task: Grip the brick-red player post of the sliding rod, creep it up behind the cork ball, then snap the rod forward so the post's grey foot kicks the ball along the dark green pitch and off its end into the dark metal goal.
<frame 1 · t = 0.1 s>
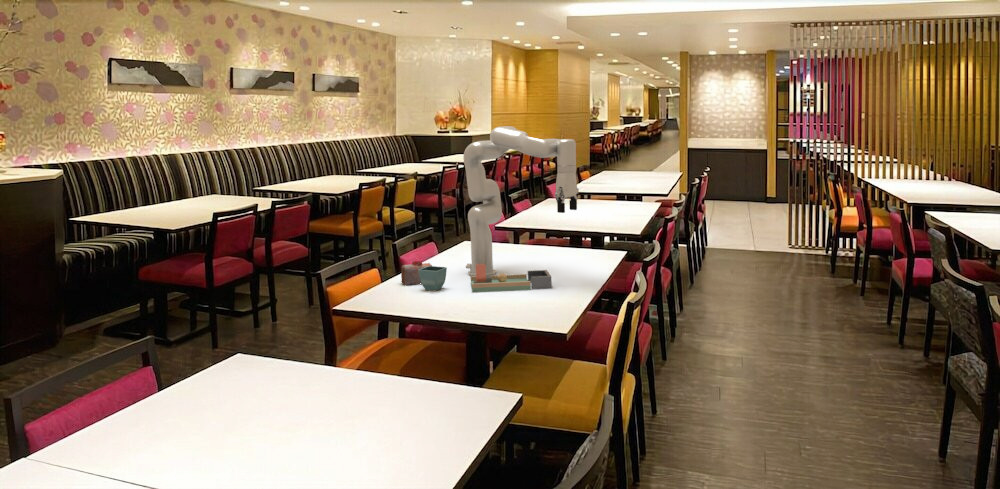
hand: (567, 211, 312), 31 cm above the table, fingers open, 9 cm apart
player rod: (482, 273, 316), point 6 cm above the table, slide at 0.0 cm
goal: (538, 285, 318), on the table
flower pot: (433, 289, 316), on the table
ball: (502, 278, 316), point 4 cm above the table, touching pitch
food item: (418, 283, 329), on the table
pitch: (500, 286, 317), on the table
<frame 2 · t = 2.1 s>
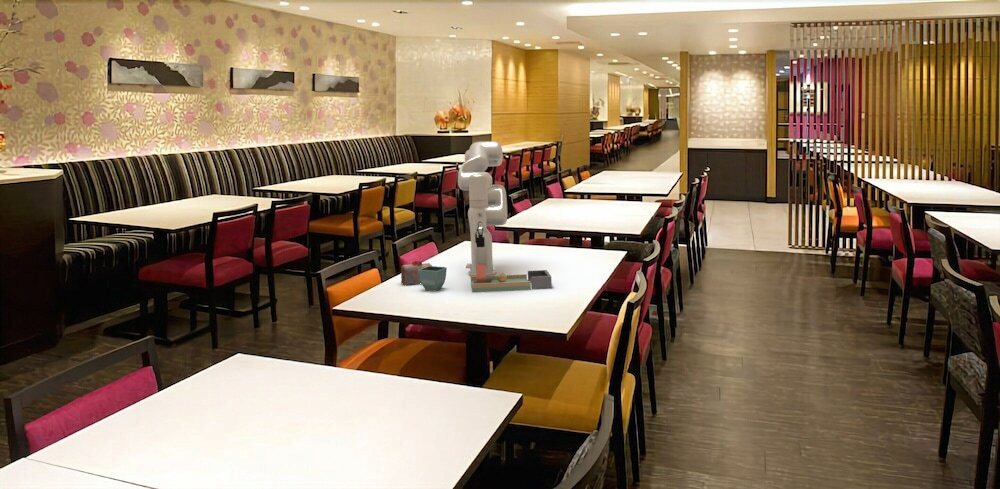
hand: (480, 245, 313), 18 cm above the table, fingers open, 9 cm apart
nothing on the table moved.
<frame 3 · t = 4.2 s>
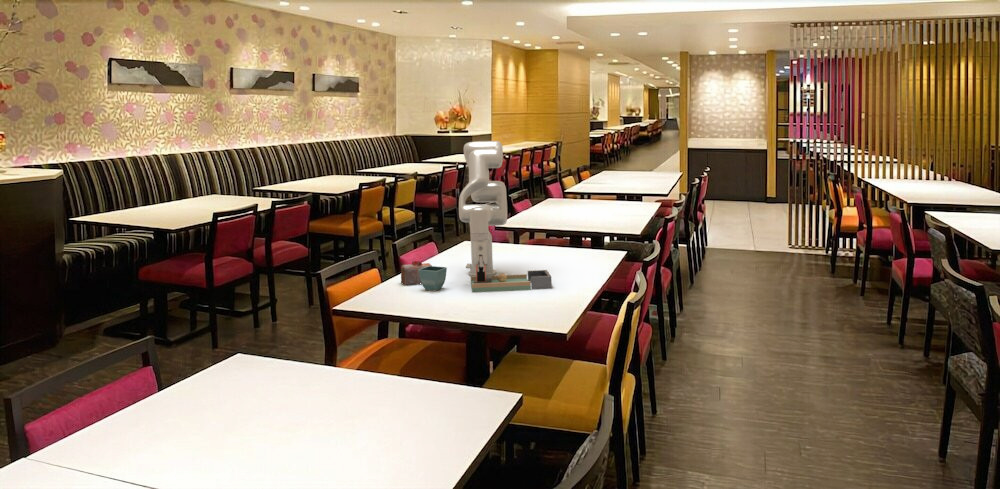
hand: (480, 279, 316), 4 cm above the table, fingers closed on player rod, 4 cm apart
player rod: (482, 273, 316), point 6 cm above the table, slide at 0.0 cm, touching gripper
everything else where it was.
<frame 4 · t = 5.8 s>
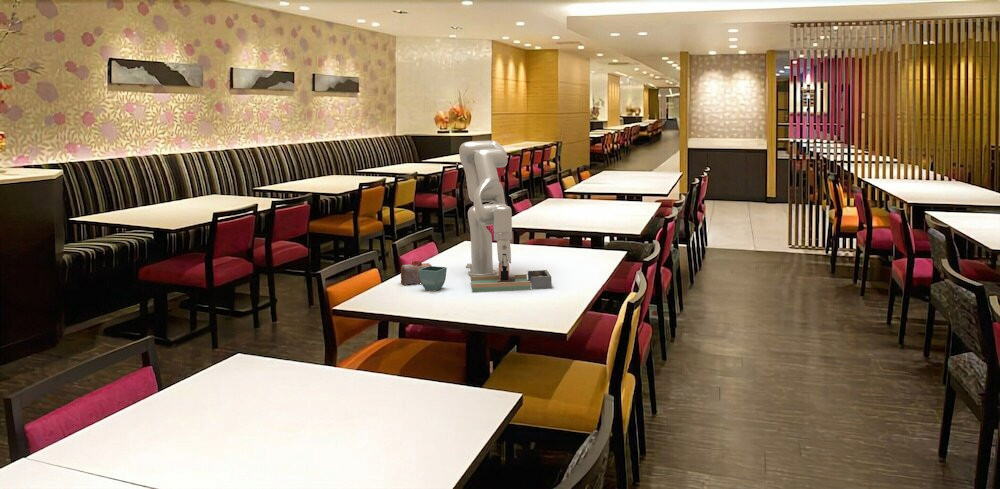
hand: (504, 278, 317), 4 cm above the table, fingers closed on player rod, 4 cm apart
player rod: (505, 272, 316), point 6 cm above the table, slide at 9.8 cm, touching gripper
ball: (540, 280, 318), point 2 cm above the table, tilted 81°
everything else where it was.
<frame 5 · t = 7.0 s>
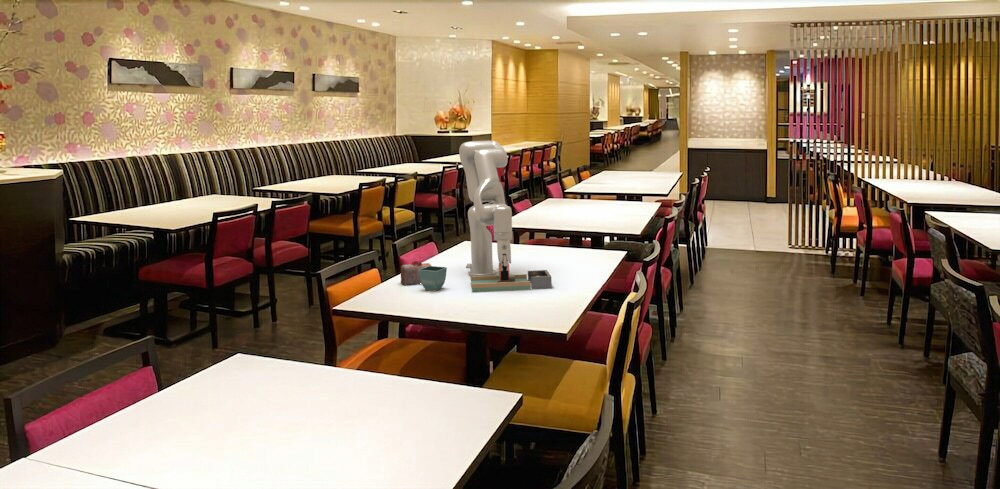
hand: (504, 278, 317), 4 cm above the table, fingers closed on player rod, 4 cm apart
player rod: (505, 272, 316), point 6 cm above the table, slide at 9.8 cm, touching gripper
ball: (538, 280, 318), point 2 cm above the table, tilted 56°
everything else where it was.
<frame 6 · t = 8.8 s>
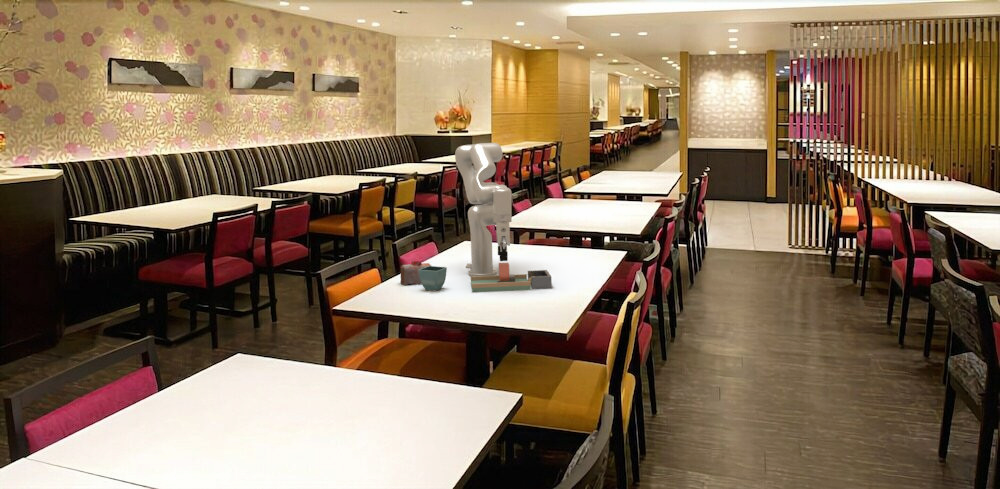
hand: (502, 257, 316), 12 cm above the table, fingers open, 9 cm apart
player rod: (505, 272, 316), point 6 cm above the table, slide at 9.8 cm
ball: (533, 280, 318), point 2 cm above the table
everything else where it was.
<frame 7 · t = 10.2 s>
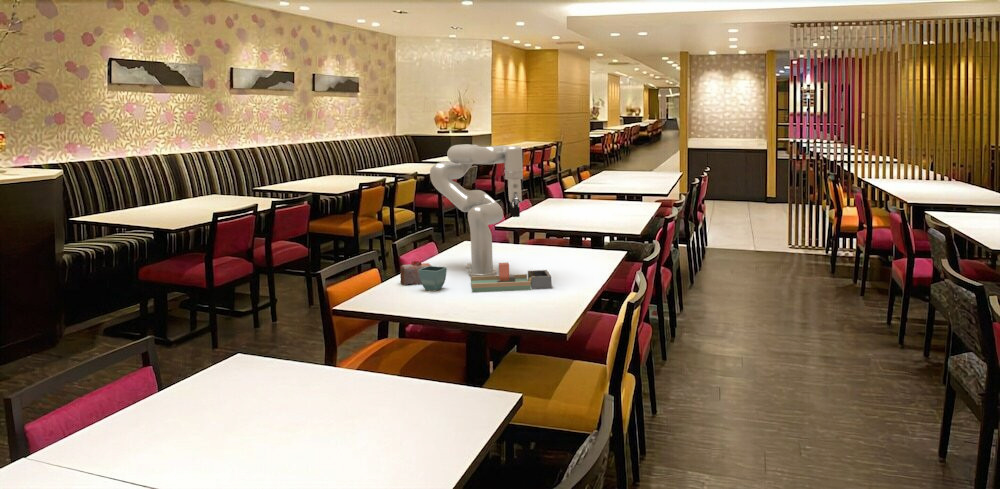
hand: (514, 215, 325), 28 cm above the table, fingers open, 9 cm apart
nothing on the table moved.
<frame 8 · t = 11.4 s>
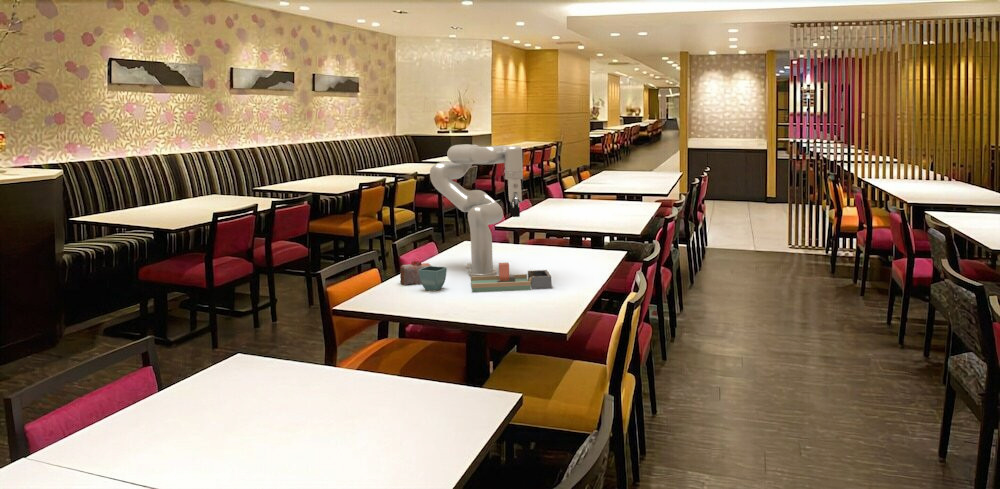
hand: (514, 215, 325), 28 cm above the table, fingers open, 9 cm apart
nothing on the table moved.
at the end: ball 1.9 cm from the goal (horizontally); ball point 2.0 cm above the table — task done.
